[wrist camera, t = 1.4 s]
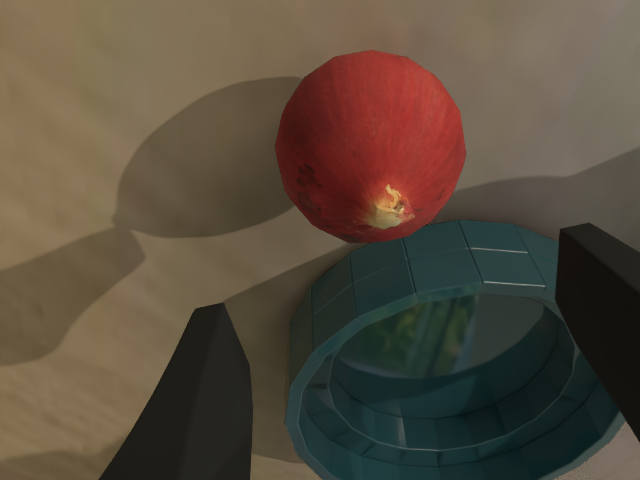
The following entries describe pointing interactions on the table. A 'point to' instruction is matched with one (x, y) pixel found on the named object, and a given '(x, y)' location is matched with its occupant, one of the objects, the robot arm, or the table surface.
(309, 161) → the onion
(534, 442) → the teal bowl
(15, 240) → the table surface
